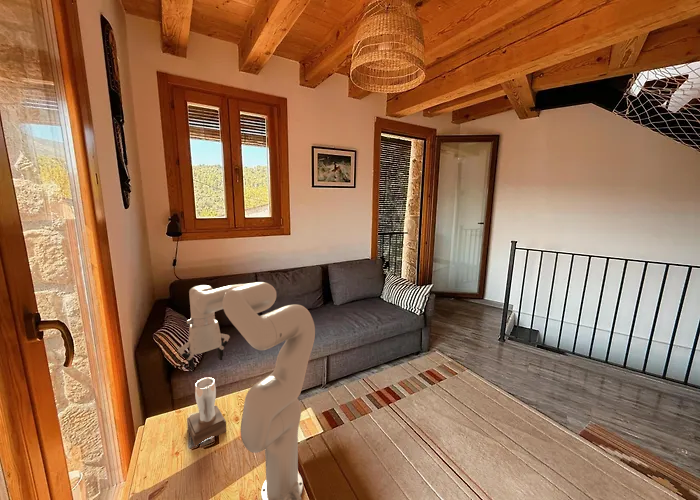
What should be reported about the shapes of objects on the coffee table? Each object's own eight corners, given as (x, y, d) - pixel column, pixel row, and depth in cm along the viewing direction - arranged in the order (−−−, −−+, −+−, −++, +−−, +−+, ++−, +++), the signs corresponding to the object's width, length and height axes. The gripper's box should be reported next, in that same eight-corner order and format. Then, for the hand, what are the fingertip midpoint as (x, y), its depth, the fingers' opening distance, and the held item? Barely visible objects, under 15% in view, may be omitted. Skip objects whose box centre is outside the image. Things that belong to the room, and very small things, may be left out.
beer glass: (194, 417, 110) (192, 382, 107) (213, 408, 114) (211, 375, 112) (200, 428, 105) (197, 391, 102) (219, 418, 109) (217, 383, 107)
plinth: (226, 431, 110) (225, 419, 109) (195, 446, 103) (194, 434, 102) (217, 415, 118) (216, 404, 117) (187, 428, 111) (186, 417, 110)
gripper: (178, 329, 94) (182, 377, 97) (231, 316, 106) (233, 359, 108) (173, 322, 100) (177, 367, 102) (224, 311, 111) (226, 351, 114)
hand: (206, 363), depth 105 cm, fingers open, 9 cm apart
